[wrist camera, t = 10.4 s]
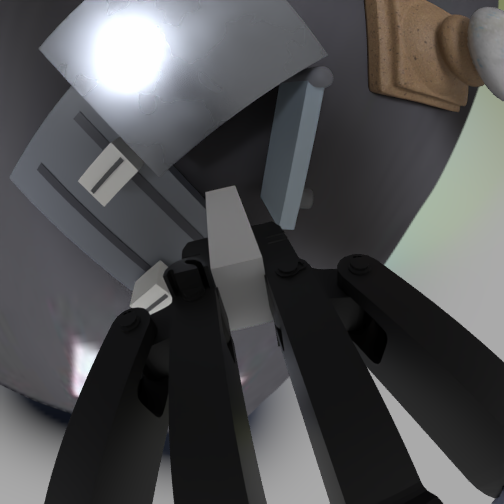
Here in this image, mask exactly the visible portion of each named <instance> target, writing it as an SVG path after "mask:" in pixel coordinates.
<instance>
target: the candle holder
mask: <svg viewBox="0 0 504 504" xmlns="http://www.w3.org/2000/svg"><path fill="white" fill-rule="evenodd" d="M364 6H365V17H366V32H367V55H368V86H369V90H370V91H372V92H374V93H378V94H382V95H387V96H392V97H397V98H401V99H406V100H410V101H414V102H419V103H423V104H426V105H430V106H434V107H437V108H442V109H446V110H450V111H454V112H459V110H460V106H465V105H466V104H467V98H468V85H469V86H473V87H479V86H483V85H484V84H485V85H486V86H487V87H488V89H489V90H490V91H491V92H492V93H493V94H494V95H495V96H496V97H497V98H499V99H501V100H502V101H504V11H503V10H500V9H497V8H493V7H481V8H479V9H477V10H476V11H475V12H474V13H473V14H472V16H471V18H470V19H469V18H467V17H464V16H461V15H451V14H449V13H447V12H446V11H444V10H443V9H441V8H439V7H437V6H436V5H434V4H432V3H430V2H428V1H426V0H364Z"/></svg>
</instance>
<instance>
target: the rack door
mask: <svg viewBox="0 0 504 504" xmlns="http://www.w3.org/2000/svg"><path fill="white" fill-rule="evenodd" d="M332 82H333V74H332V72H331V71H330V69H328V68H327V67H324V66H319V67H313V68H307V69H303V70H301V71H300V72H298V73H296V74H295V75H293V76H292V77H290V78H288V79H287V80H285V81H284V82H282V83H280V84H279V90H278V96H277V102H276V108H275V114H274V119H273V125H272V131H271V137H270V143H269V148H268V154H267V160H266V166H265V172H264V178H263V183H262V189H261V195H260V197H261V199H262V200H263V202H264V204H265V206H266V207H267V209H268V211H269V213H270V214H271V216H272V218H273V220H274V221H275V223H276V224H277V225H279V226H281V228H282V229H288V230H294V228H295V224H296V219H297V215H298V211H299V208H301V209H310V208H311V206H312V204H313V192H312V190H311V189H305V188H304V185H305V180H306V176H307V171H308V167H309V162H310V157H311V153H312V148H313V143H314V138H315V133H316V128H317V123H318V118H319V113H320V108H321V103H322V98H323V92H324V87H328V86H330V85H331V84H332Z"/></svg>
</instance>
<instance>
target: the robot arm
mask: <svg viewBox="0 0 504 504" xmlns="http://www.w3.org/2000/svg"><path fill="white" fill-rule="evenodd" d="M205 195H206V213H207V228H208V238H204V239H200V240H195V241H191V242H188V243H187V244H186V245H185V247H184V248H183V250H182V259H181V260H179V261H176V262H175V263H173V264H171V265H170V266H169V267H168V268H167V269H166V270H165V272H164V274H163V279H164V281H165V283H166V285H167V288H168V290H169V292H170V294H171V296H172V303H171V304H169V305H168V306H167V307H165V308H163V309H161V310H159V311H157V312H155V313H153V314H151V315H150V314H149V312H148V311H147V310H146V309H144V308H139V307H136V308H131V309H128V310H126V311H124V312H123V313H121V314H120V315H119V316H118V317H117V318H116V319H115V321H114V322H113V324H112V326H111V328H110V330H109V332H108V334H107V336H106V338H105V340H104V342H103V344H102V346H101V348H100V350H99V352H98V354H97V356H96V359H95V361H94V363H93V365H92V367H91V370H90V372H89V374H88V376H87V379H86V381H85V383H84V386H83V388H82V390H81V393H80V395H79V398H78V400H77V402H76V405H75V408H74V410H73V413H72V415H71V418H70V421H69V423H68V426H67V429H66V432H65V435H64V437H63V440H62V443H61V446H60V449H59V452H58V456H57V458H56V462H55V465H54V468H53V472H52V476H51V479H50V482H49V486H48V490H47V494H46V499H45V503H44V504H152V502H153V497H154V491H155V486H156V481H157V476H158V471H159V467H160V462H161V457H162V452H163V448H164V443H165V439H166V434H167V430H168V426H169V441H170V459H171V474H172V486H173V496H174V504H267V503H266V498H265V494H264V490H263V486H262V481H261V477H260V473H259V468H258V464H257V460H256V455H255V450H254V446H253V441H252V436H251V431H250V426H249V421H248V416H247V411H246V406H245V401H244V396H243V391H242V385H241V380H240V375H239V369H238V364H237V358H236V353H235V347H234V342H233V339H232V337H231V334H230V330H231V331H235V330H239V329H244V328H248V327H252V326H256V325H260V324H264V323H268V322H272V321H273V320H274V323H275V329H276V335H277V341H278V346H280V347H281V350H282V353H283V356H284V359H285V362H286V366H287V369H288V372H289V375H290V378H291V381H292V385H293V388H294V391H295V394H296V397H297V400H298V403H299V406H300V410H301V413H302V416H303V419H304V422H305V426H306V429H307V432H308V435H309V438H310V441H311V444H312V448H313V450H314V454H315V457H316V460H317V463H318V466H319V470H320V472H321V476H322V479H323V482H324V485H325V488H326V491H327V495H328V498H329V501H330V504H443V503H442V502H441V500H440V499H439V498H438V497H437V496H435V495H434V494H432V493H430V492H429V491H427V490H426V489H425V487H424V486H423V485H422V483H421V481H420V478H419V476H418V474H417V471H416V469H415V467H414V465H413V462H412V460H411V458H410V456H409V454H408V451H407V449H406V447H405V445H404V442H403V440H402V438H401V436H400V434H399V432H398V429H397V428H396V426H395V424H394V421H393V419H392V417H391V415H390V413H389V411H388V409H387V407H386V405H385V403H384V401H383V399H382V397H381V395H380V393H379V391H378V389H377V387H376V385H375V383H374V381H373V379H372V377H371V375H370V373H369V371H368V369H369V370H370V371H371V372H372V373H373V374H374V375H375V376H376V378H377V379H378V380H379V381H380V382H381V383H382V384H383V385H384V386H385V387H386V388H387V390H388V391H389V392H390V393H391V394H392V395H393V396H394V397H395V399H396V400H397V401H398V402H399V403H400V404H401V405H402V406H403V407H404V409H405V410H406V411H407V412H408V413H409V414H410V415H411V416H412V417H413V418H414V420H415V421H416V422H417V423H418V424H419V425H420V426H421V428H422V429H423V430H424V431H425V432H426V433H427V434H428V435H429V436H430V438H431V439H432V440H433V441H434V442H435V443H436V444H437V445H438V447H439V448H440V449H441V450H442V451H443V452H444V453H445V454H446V456H447V457H448V458H449V459H450V460H451V461H452V462H453V463H454V465H455V466H456V467H457V468H458V469H459V470H460V471H461V472H462V473H463V475H464V476H465V477H466V478H467V479H468V480H469V481H470V482H471V483H472V484H473V485H474V486H475V487H476V488H477V489H479V490H480V491H481V492H483V493H484V494H486V495H488V496H491V497H493V498H495V500H494V501H493V502H492V504H504V362H503V361H502V360H501V359H499V357H497V356H496V355H495V354H494V353H493V352H492V351H491V350H490V349H488V348H487V347H486V346H485V345H484V344H483V343H482V342H481V341H479V340H478V339H477V338H476V337H475V336H474V335H473V334H471V333H470V332H469V331H468V330H467V329H466V328H464V327H463V326H462V325H461V324H459V323H458V322H457V321H456V320H455V319H453V318H452V317H451V316H450V315H449V314H447V313H446V312H445V311H444V310H442V309H441V308H440V307H439V306H437V305H436V304H435V303H434V302H432V301H431V300H430V299H428V298H427V297H426V296H424V295H423V294H422V293H421V292H419V291H418V290H417V289H415V288H414V287H412V286H411V285H410V284H409V283H407V282H406V281H405V280H403V279H402V278H400V277H399V276H398V275H397V274H395V273H394V272H392V271H391V270H390V269H388V268H387V267H386V266H384V265H383V264H381V263H380V262H379V261H377V260H376V259H374V258H372V257H370V256H367V255H362V254H353V255H349V256H346V257H344V258H343V259H341V260H340V262H339V263H338V265H337V269H315V268H311V266H310V265H309V264H308V263H307V262H306V261H305V260H302V259H300V258H298V256H297V254H296V252H295V251H294V249H293V247H292V245H291V244H290V242H289V240H288V239H287V237H286V235H285V234H284V232H283V230H282V228H281V226H279V225H277V224H276V223H274V222H268V223H263V224H259V225H255V226H250V223H249V221H248V218H247V215H246V213H245V210H244V208H243V205H242V202H241V200H240V197H239V194H238V192H237V189H236V187H235V185H234V186H230V187H225V188H221V189H217V190H212V191H208V192H205ZM367 368H368V369H367Z"/></svg>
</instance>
